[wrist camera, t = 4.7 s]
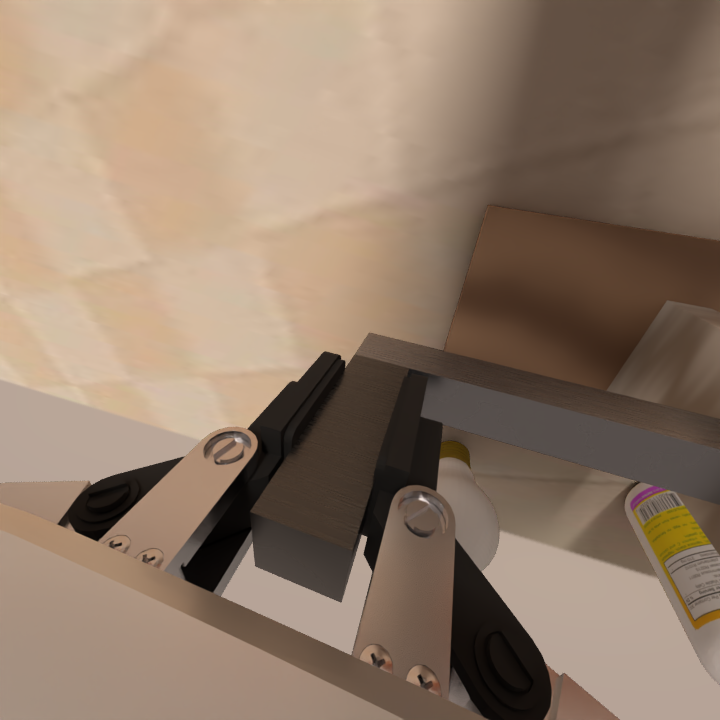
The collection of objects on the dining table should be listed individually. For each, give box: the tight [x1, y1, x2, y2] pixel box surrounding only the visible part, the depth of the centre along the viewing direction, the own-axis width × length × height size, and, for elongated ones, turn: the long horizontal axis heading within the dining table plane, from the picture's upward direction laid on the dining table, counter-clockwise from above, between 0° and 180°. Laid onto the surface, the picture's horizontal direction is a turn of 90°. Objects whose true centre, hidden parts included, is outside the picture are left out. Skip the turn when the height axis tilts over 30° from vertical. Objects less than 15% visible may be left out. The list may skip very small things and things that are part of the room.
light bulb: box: [437, 441, 499, 571], centre depth 21 cm, size 6×6×10 cm
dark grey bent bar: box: [250, 333, 720, 602], centre depth 8 cm, size 2×16×8 cm, turn 82°
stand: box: [444, 205, 720, 555], centre depth 13 cm, size 12×20×13 cm, turn 82°
